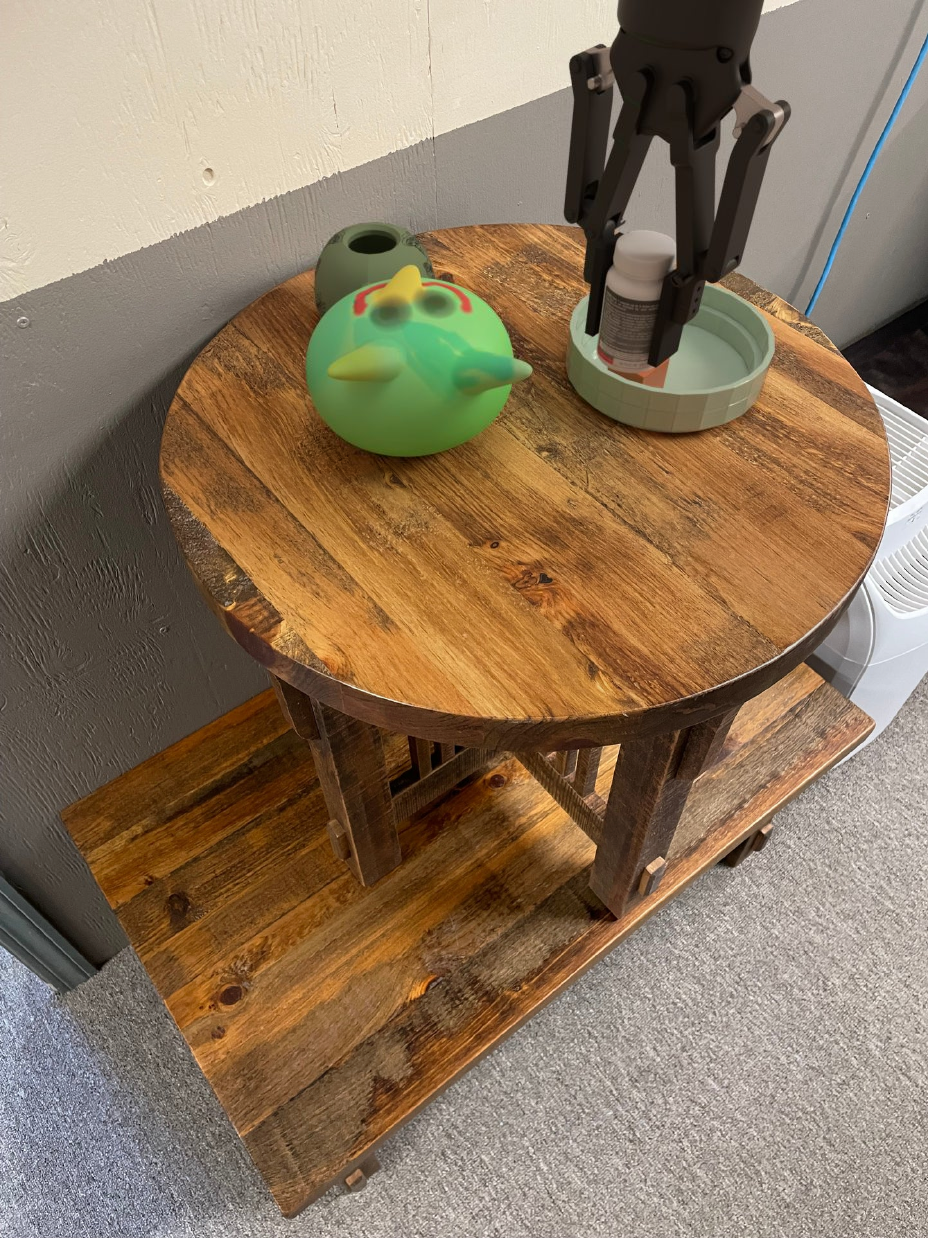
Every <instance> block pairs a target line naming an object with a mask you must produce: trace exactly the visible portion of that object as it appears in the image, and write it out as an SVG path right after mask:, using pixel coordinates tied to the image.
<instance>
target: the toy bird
mask: <svg viewBox="0 0 928 1238" xmlns="http://www.w3.org/2000/svg"><path fill="white" fill-rule="evenodd" d="M508 333H509V332H508V330H507V329H506V327H505V325H504V323H503V322H502V320H501V318H500V317H499V315H498V314H497V313H496V311H495V310H494V309H493V308H492V307H491V306H490V305H489V304H488V303H487V302H486V301H485V300H483V299H482V298H481V297H480V296H478V295H477V294H476V293H473V292H472V291H470V290H469V289H467V288H465V287H462V286H460V285H458V284H456V283H452V282H448V281H445V280H441V279H436V278H435V279H430V278H421V276H420V272H419V270H418V268H417V267H416V266H414V265H408V266H405V267H404V268H402V269H401V270H400V271H399V272H398V273H397V274H396V275H395V276H394V277H393V278H392V279H389V280H384V281H380V282H377V283H373V284H370V285H368V286H365V287H363V288H360V289H358V290H356V291H354V292H352V293H350V294H349V295H347V296H345V297H344V298H342V299H341V300H340V301H338V302H337V303H336V304H335V305H333V306H332V307H331V308H330V309H329V310H328V311H327V312H326V314H325V315H324V316H323V317H322V319H321V318H320V320H319V322H318V323H317V325H316V326H315V328H314V330H313V332H312V334H311V337H310V340H309V343H308V346H307V350H306V357H305V378H306V385H307V389H308V392H309V396H310V398H311V401H312V403H313V405H314V407H315V409H316V411H317V413H318V414H319V417H321V419H322V420H323V422H324V423H325V424H326V425H327V426H328V427H329V429H330V430H332V431H333V432H334V433H335V434H336V435H337V436H338V437H340V438H342V439H343V440H344V441H345V442H347V443H349V444H351V445H352V446H355V447H357V448H359V449H361V450H364V451H366V452H369V453H373V454H378V455H381V456H382V455H383V456H387V457H388V456H390V457H400V458H401V457H404V458H407V457H410V458H411V457H413V458H414V457H423V456H430V455H434V454H438V453H442V452H446V451H448V450H451V449H453V448H456V447H459V446H461V445H463V444H465V443H467V442H469V441H470V440H472V439H474V438H476V437H477V436H478V435H479V434H481V433H482V432H484V430H486V429H487V428H488V427H489V426H490V425H491V424H492V423H493V422H494V421H495V420H496V419H497V417H498V416H499V415H500V413H501V412H502V410H503V409H504V407H505V405H506V403H507V401H508V398H509V397H510V394H511V391H512V387H513V384H516V383H519V382H521V381H524V380H525V379H527V378H529V377H530V376H531V375H532V373H533V367H532V365H530V364H529V363H527V362H525V361H524V360H520V359H518V358H514V351H513V346H512V342H511V339H510V335H509V334H508Z"/></svg>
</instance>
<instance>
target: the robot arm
mask: <svg viewBox="0 0 928 1238" xmlns="http://www.w3.org/2000/svg"><path fill="white" fill-rule="evenodd" d="M764 3H765V0H617V9H616V19H617V23H618V25H619V28H618V32H617V34H616V36H615V38H614V39H613V41H612V43H611V45H610V46H606V45H605V44H604V43H599V44H596V45H594V46H592V47H589V48H587V49H585V50H583V51H581V52H578V53H577V54H574V55H572V56H571V58H570V59H569V62H568V69H569V76H570V83H571V88H572V94H573V95H572V97H573V106H572V117H571V118H572V119H571V129H570V139H569V148H568V149H569V150H568V152H569V153H568V160H567V172H566V182H565V191H564V192H565V193H564V204H563V217H564V220H565V221H566V222H567V223H568V224H571V225H574V224H577V225H578V226H579V227H580V229H582V230H583V234H584V237H585V239H586V246H585V253H584V266H583V270H582V271H583V272H582V275H583V280H584V282H585V283H587V284H589V285H590V288H589V293H590V294H589V293H588V294H589V302H588V310H587V318H586V326H585V333H586V334H588V335H590V336H592V337H594V336H595V335H597V334H598V333H599V328H600V321H601V314H602V306H603V299H604V291H605V283H606V277H607V273H608V271H609V269H610V267H611V266H612V265H613V264H614V261H613V256H614V252H615V247H616V242H617V240H618V238H619V237H620V236H622V235H623V234H625V233H623V232H621V231H618V232H617V233H616V232H615V231H616V230H617V229H618V228H620V227H622V226H623V225H625V224H626V222H627V221H626V219H625V220H624V218H623V217H624V215H625V212H626V209H627V207H628V205H629V201H630V200H631V196H632V195H633V194H632V193H633V191H634V189H635V186H636V184H637V181H638V178H639V175H640V172H641V170H642V168H643V165H644V162H645V160H646V158H647V155H648V152H649V149H650V147H651V144H652V141H653V139H654V137H659V138H660V139H661V140H663V141H664V142H666V143H667V144H669V163H670V165H671V166H672V167H674V180H675V181H674V190H675V192H674V193H675V194H674V195H675V200H674V201H675V202H674V203H675V243H676V263H675V268H674V270H673V271H672V272H670V273H669V274H667V275H666V276H664V279H663V284H662V289H661V295H660V300H659V305H658V310H657V315H656V320H655V325H654V331H653V336H652V341H651V346H650V351H649V356H648V361H647V364H649V365H651V366H653V367H655V368H657V367H658V366H659V365H661V364H662V363H663V362H664V361H666V360H667V359H668V358H670V357H671V356H672V355H674V354H675V353H676V352H677V351H678V348H679V344H680V339H681V335H682V330H683V326H684V325H685V324H686V323H688V322H689V321H690V320H692V319H693V318H694V317H695V316H696V314H697V313H698V312H699V308H700V303H701V298H702V295H703V291H704V286H705V282H706V283H710V284H713V285H715V284H716V283H718V282H720V281H721V280H722V279H724V278H726V277H727V276H728V275H729V274H731V273H732V272H733V271H734V270H736V269H737V268H738V267H740V265H741V263H742V261H743V260H742V259H743V256H744V253H745V250H746V249H745V248H746V245H747V241H748V237H749V233H750V229H751V227H752V223H753V219H754V215H755V210H756V207H757V204H758V200H759V196H760V192H761V188H762V185H763V182H764V181H763V180H764V176H765V173H766V169H767V166H768V162H769V158H770V154H771V150H772V147H773V145H774V144H775V142H776V141H777V139H778V137H779V136H780V135H781V133H782V131H783V129H784V128H785V126H786V124H787V123H788V122H789V121H790V118H791V115H792V108H791V104H789V102H788V101H786V99H785V100H784V99H779V100H776V101H775V102H772V101H770V99H768V98H767V97H766V96H764V94H763V93H761V92H760V91H758V89H757V88H755V86H753V85H752V81H753V71H752V67H751V50H752V49H751V48H752V45H753V42H754V40H755V36H756V34H757V30H758V28H759V25H760V20H761V16H762V11H763V7H764ZM615 82H616V85H617V88H618V90H619V93H620V97H621V100H622V105H621V108H620V111H619V115H618V118H617V120H616V123H615V125H614V129H613V132H612V136H611V137H612V139H613V143H612V146H611V150H610V153H609V154H608V155H609V156H608V159H607V158H606V157H607V151H608V142H609V133H610V126H611V117H612V110H613V103H614V84H615ZM732 110H734V111H735V115H736V120H735V123H734V127H733V130H732V137H733V139H736V141H735V143H734V145H733V147H732V150H731V152H730V155H729V158H728V161H727V166H726V169H725V170H726V171H725V175H724V179H723V184H722V188H721V192H720V196H719V201H718V204H717V208H716V156H717V153H718V151H719V149H720V146H721V136H722V135H721V134H722V130H721V129H722V120H723V119H725V117H726V116H727V115H729V114H730V113H731V111H732ZM606 159H607V162H606Z"/></svg>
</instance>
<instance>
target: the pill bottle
mask: <svg viewBox="0 0 928 1238" xmlns="http://www.w3.org/2000/svg"><path fill="white" fill-rule="evenodd" d="M613 261H614V264H613V265H612V266H611V267H610V269H609V271H608V273H607V277H606V283H605V291H604V299H603V306H602V314H601V321H600V328H599V335H598V342H597V355H598V358H599V359H600V361H601V362H602V363H603V364H604V365H606V366H607V367H609V368H611V369H613V370H616V371H620V372H625V373H642V372H646V371H649V370H651V369H653V368H654V367H653V366H651V365H649V364H647V361H648V356H649V351H650V346H651V341H652V336H653V331H654V325H655V320H656V315H657V310H658V305H659V300H660V295H661V289H662V284H663V279H664V276H666V275H667V274H669V273H670V272H672V271H673V270H675V268H676V240H674V239H673V238H672V237H670V236H669V235H667V234H665V233H662V232H659V231H655V230H650V229H649V230H647V229H637V230H632V231H628V232H625V233H624V234H623V235H622V236H620V237H619V238H618V240H617V242H616V247H615V252H614V256H613Z"/></svg>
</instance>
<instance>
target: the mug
mask: <svg viewBox="0 0 928 1238" xmlns="http://www.w3.org/2000/svg"><path fill="white" fill-rule="evenodd" d="M316 263H317V264H316V268H315V270H314V281H313V282H314V285H313V293H314V303H315V304H314V305H315V307H316V309H317V312H318V315H319V318H320V320H321V319H322V317H323V316H324V315H325V314H326V312H327V311H328V310H329V309H330V308H331V307H332V306H333V305H335V304H336V303H337V302H338V301H340V300H341V299H342V298H344V297H345V296H347V295H349V294H350V293H352V292H354V291H356V290H358V289H360V288H363V287H365V286H368V285H370V284H373V283H377V282H380V281H384V280H389V279H392V278H393V277H394V276H395V275H396V274H397V273H398V272H399V271H400V270H401V269H402V268H404V267H405V266H408V265H414V266H416V267H417V268H418V270H419V272H420V276H421V278H430V279H436V275H435V270H434V267H433V263H432V260H431V258H430V256H429V254H428V251H427V250H426V248H425V246H424V245H423V244H422V242H421V241H420V240H419V239H418V238H417V237H416V236H415V235H413V234H412V233H411V232H410V231H408V230H407V229H406V228H404V227H401V226H398V225H396V224H393V223H389V222H381V221H380V222H379V221H371V222H370V221H369V222H359V223H356V224H352V225H349V226H346V227H343V228H342V229H341V230H339V231H337V232H336V233H334V234H333V235H332V236H331V237H330V239H328V241H327V242H326V244H325V245H324V247H323V248H322V250H321V252H320V255H319V257H318V260H317V262H316Z"/></svg>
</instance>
